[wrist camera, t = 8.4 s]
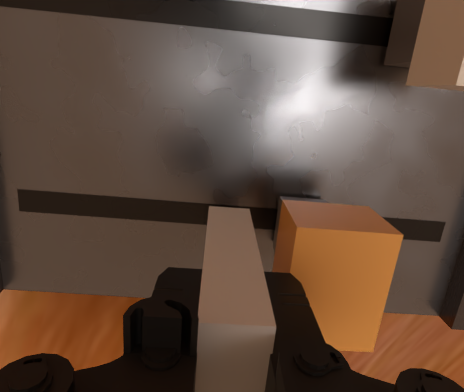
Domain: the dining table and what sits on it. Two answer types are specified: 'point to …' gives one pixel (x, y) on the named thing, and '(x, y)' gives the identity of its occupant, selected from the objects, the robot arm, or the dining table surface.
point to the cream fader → (429, 43)
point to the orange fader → (338, 265)
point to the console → (215, 139)
